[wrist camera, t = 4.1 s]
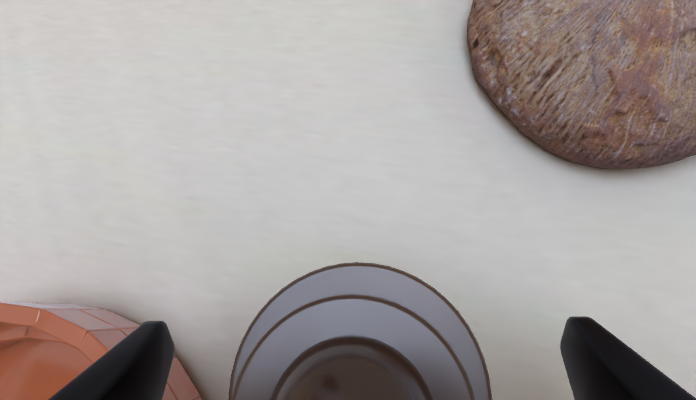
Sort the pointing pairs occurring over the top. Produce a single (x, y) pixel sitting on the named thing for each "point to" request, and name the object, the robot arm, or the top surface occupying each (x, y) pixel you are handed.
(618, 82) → the decorative stone
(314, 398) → the pepper mill
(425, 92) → the top surface
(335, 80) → the top surface
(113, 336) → the bowl
